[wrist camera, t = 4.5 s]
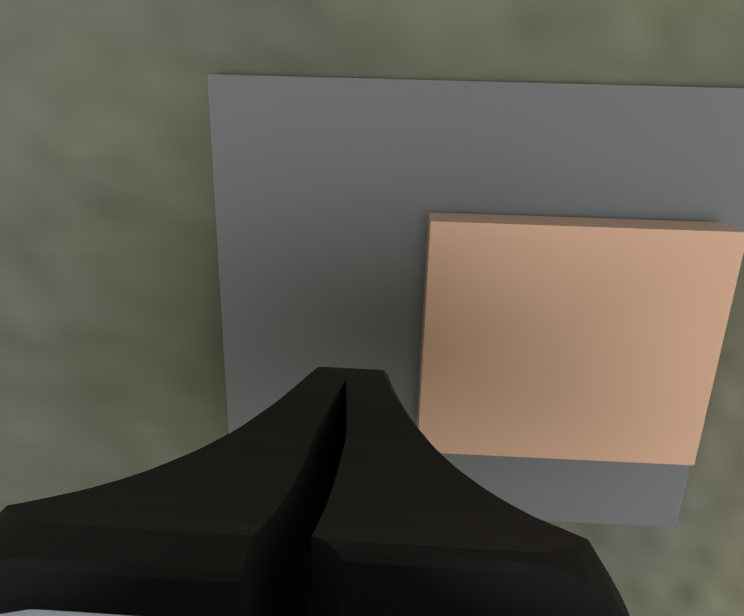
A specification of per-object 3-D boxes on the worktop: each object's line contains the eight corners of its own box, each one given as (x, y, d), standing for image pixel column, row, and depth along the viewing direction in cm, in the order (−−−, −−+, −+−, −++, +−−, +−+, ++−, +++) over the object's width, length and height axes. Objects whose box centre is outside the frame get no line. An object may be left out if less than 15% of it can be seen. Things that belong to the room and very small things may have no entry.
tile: (416, 424, 17) (671, 435, 17) (417, 451, 16) (694, 465, 16) (428, 209, 15) (717, 219, 15) (430, 221, 14) (748, 232, 14)
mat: (667, 514, 19) (676, 527, 18) (237, 492, 19) (232, 504, 18) (762, 89, 15) (777, 89, 14) (214, 74, 15) (207, 74, 14)
